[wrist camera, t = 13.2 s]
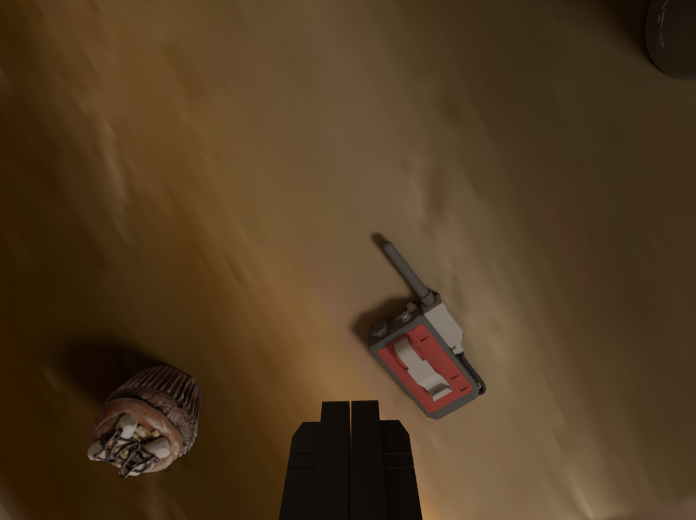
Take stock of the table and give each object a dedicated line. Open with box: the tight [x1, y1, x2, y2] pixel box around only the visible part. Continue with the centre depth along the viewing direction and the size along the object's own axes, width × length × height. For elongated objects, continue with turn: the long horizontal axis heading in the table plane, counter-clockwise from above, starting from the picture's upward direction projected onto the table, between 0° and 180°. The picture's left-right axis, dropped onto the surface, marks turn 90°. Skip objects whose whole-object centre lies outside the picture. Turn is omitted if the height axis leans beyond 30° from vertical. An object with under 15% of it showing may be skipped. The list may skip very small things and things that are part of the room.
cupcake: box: [88, 365, 202, 478], centre depth 46 cm, size 10×10×10 cm
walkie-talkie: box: [369, 241, 486, 419], centre depth 45 cm, size 9×4×20 cm
